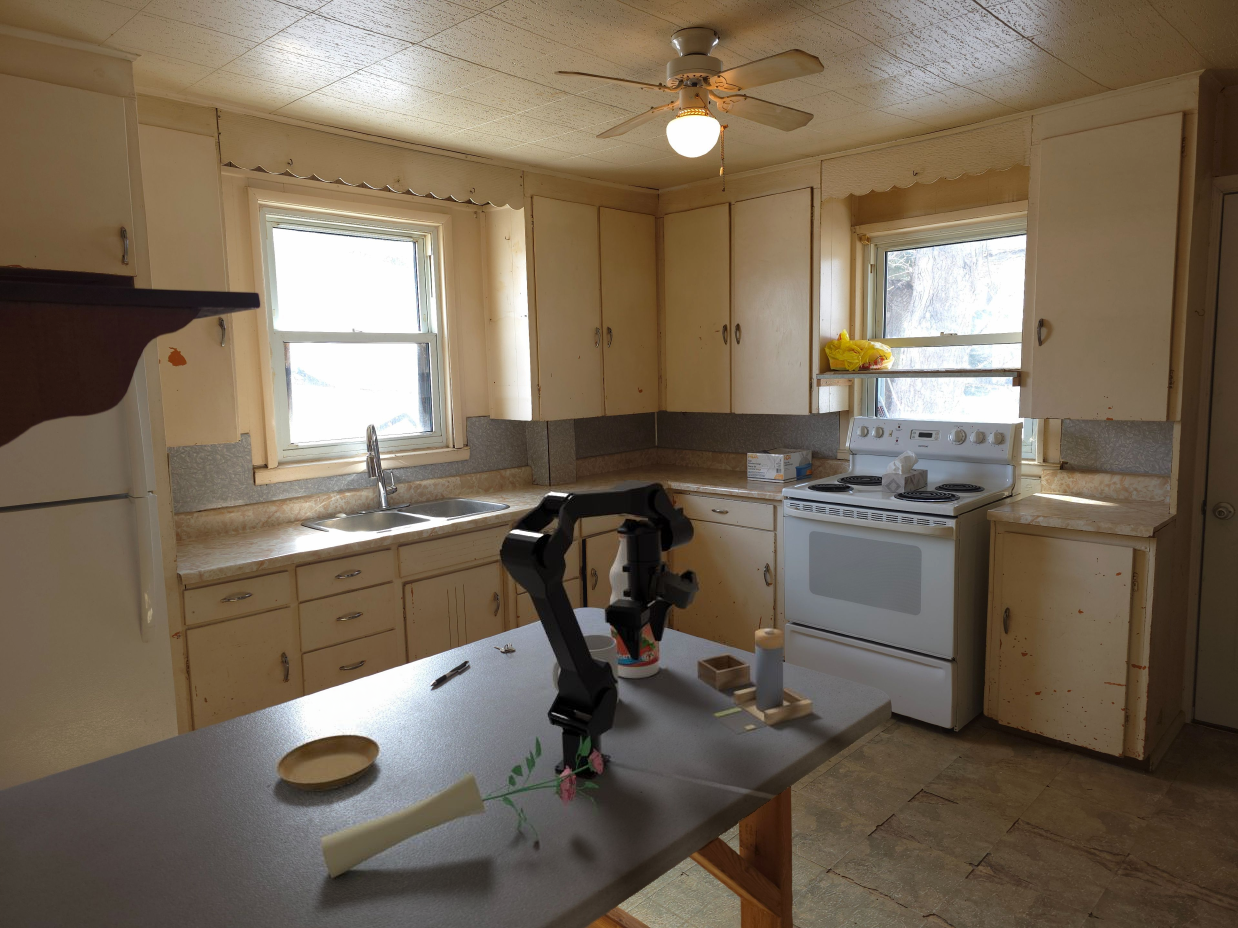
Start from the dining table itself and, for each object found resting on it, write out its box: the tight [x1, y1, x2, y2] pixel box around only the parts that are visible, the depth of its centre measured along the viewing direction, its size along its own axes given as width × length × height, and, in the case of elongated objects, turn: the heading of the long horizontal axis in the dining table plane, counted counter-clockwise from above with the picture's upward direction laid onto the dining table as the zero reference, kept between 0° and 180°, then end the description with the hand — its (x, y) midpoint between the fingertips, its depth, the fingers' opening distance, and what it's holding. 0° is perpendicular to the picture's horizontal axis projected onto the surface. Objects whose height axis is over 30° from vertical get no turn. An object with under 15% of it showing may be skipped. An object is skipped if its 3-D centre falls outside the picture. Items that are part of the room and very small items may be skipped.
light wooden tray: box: [733, 685, 813, 727], centre depth 137 cm, size 9×10×3 cm
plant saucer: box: [276, 734, 380, 792], centre depth 122 cm, size 15×15×3 cm
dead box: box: [697, 652, 751, 692], centre depth 149 cm, size 7×7×4 cm
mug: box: [552, 634, 620, 704], centre depth 142 cm, size 12×8×11 cm
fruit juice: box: [609, 534, 661, 679], centre depth 156 cm, size 9×9×28 cm
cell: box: [754, 628, 784, 713], centre depth 136 cm, size 5×5×14 cm
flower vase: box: [320, 735, 604, 879], centre depth 101 cm, size 12×12×35 cm
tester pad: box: [710, 706, 768, 735], centre depth 133 cm, size 6×8×1 cm
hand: (647, 650), depth 132 cm, fingers open, 9 cm apart
